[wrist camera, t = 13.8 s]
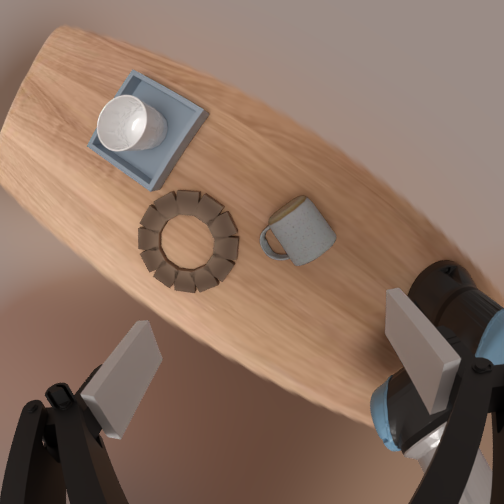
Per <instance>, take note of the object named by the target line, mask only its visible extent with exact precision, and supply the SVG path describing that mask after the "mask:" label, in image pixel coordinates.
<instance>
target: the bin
mask: <svg viewBox="0 0 504 504" xmlns="http://www.w3.org/2000/svg"><path fill="white" fill-rule="evenodd" d="M121 95H132V96H135V97H137V98H138V99H140V100H142V101H143V102H145V103H147V104H149V105H150V106H152V107H153V108H155V109H156V110H157V111H158V112H160V113H162V115H163V116H164V117H165V119H166V120H167V126H168V130H167V134H166V137H165V139H164V140H163V141H162V143H161V144H160V145H159V146H157V147H155V148H153V149H146V150H139V151H112V150H109V149H107V148H106V147H105V146H103V144H102V143H101V142H100V140H99V137H98V134H97V128H96V130H95V132H94V134H93V135H92V137H91V139H90V141H89V143H88V145H87V147H89V148H90V149H92V150H93V151H94V152H96V153H97V154H99V155H100V156H101V157H103V158H104V159H106V160H107V161H108V162H110V163H111V164H113V165H114V166H115V167H117V168H118V169H120V170H121V171H122V172H124V173H125V174H127V175H128V176H129V177H131V178H132V179H134V180H135V181H136V182H138V183H139V184H141V185H142V186H143V187H145V188H146V189H148V190H149V191H150V192H151V191H155V190H160V189H161V187H162V185H163V184H164V182H165V180H166V179H167V177H168V176H169V174H170V172H171V171H172V169H173V168H174V166H175V164H176V163H177V161H178V160H179V158H180V157H181V155H182V154H183V152H184V150H185V149H186V147H187V146H188V144H189V143H190V141H191V140H192V138H193V137H194V136H195V134H196V133H197V131H198V130H199V128H200V127H201V125H202V124H203V123H204V121H205V120H206V118H207V117H208V116H209V113H207V112H206V111H205V110H204V109H202V108H200V107H199V106H197V105H195V104H194V103H192V102H190V101H189V100H187V99H185V98H184V97H182V96H180V95H179V94H177V93H175V92H173V91H172V90H170V89H168V88H166V87H164V86H163V85H161V84H159V83H157V82H155V81H154V80H152V79H150V78H148V77H146V76H144V75H142V74H141V73H139V72H137V71H135V70H132V71H131V73H130V74H129V75H128V77H127V78H126V80H125V81H124V83H123V84H122V86H121V88H120V89H119V91H118V92H117V94H116V95H115V97H114V98H116V97H118V96H121Z"/></svg>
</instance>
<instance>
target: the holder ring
mask: <svg viewBox="0 0 504 504" xmlns="http://www.w3.org/2000/svg"><path fill="white" fill-rule="evenodd" d="M200 195H201V192H200V191H185V190H178V191H177V196H176V194H175V192H174V191H173V192H171V193H169V194H167V195H165V196H163V197H161V198H159V199H158V200H156V201H154V204H155V206H156V207H155V206H154V205H150V206H149V208H148V209H147V211H146V213H145V215H144V216H143V218H142V220H141V222H140V224H141V225H143V226H144V227H140V228H138V249H143V250H146V251H144V252H142V253H141V254H140V255H141V257H142V259H143V261H144V263H145V265H146V267H147V269H148V271H149V272H151V271H154V270H156V269H157V270H156V272H155V274H154V276H153V277H155V278H156V279H157V280H159V281H160V282H162V283H163V284H164V285H166V286H167V287H169V288H170V287H171V286H172V285H173V283H174V282H175V290H176V291H183V292H190V293H195V291H196V287H197V289H198V290H199V292H202V291H205V290H207V289H210V288H212V287H215V286H217V285H218V284H219V281H218V279H219V280H220V281H222V282H223V280H224V279H225V278H226V276H227V275H228V273H229V272H230V271H231V269H232V268H233V267H234V265H235V262H233V261H232V260H237V254H238V242H239V237H237V236H231V235H233V234H235V233H237V232H238V230H237V228H236V226H235V224H234V222H233V220H232V218H231V215H230V213H229V211H227V212H225V213H222V214H220V212H221V211H222V209H223V208H224V206H223V205H222V204H220V203H219V202H218V201H216V200H215V199H213V198H212V197H210V196H209V195H208V194H204V196H203V197H202V199H201V200H200ZM219 214H220V215H219ZM177 215H189V216H195V217H196V218H198V219H199V220H201V221H202V222H203V223H205V224H206V225H207V226H208V228H209V230H210V232H211V234H212V236H213V238H214V249H213V255H212V257H211V258H210V260H209V261H208V263H207V264H205V265H203V266H201V267H198V268H196V269H194V270H193V269H185V268H179V267H178V266H176V265H175V264H174V263H172V262H171V261H169V260H168V259H167V257H166V255H165V253H164V251H163V249H162V247H161V232H162V230H163V228H164V227H165V225H166V223H167V222H168V220H169V219H171V218H173V217H175V216H177Z"/></svg>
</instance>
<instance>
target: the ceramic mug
mask: <svg viewBox="0 0 504 504" xmlns="http://www.w3.org/2000/svg"><path fill="white" fill-rule="evenodd" d="M270 228H271V230H272V232H273V233H274V235H275V236H276V238H277V239H278V240H279V242H280V243H281V245H282V247H283V248H284V250H285V251H286V253H287V254H286V255H280V254H276V253H274V252H273V251H272V250H271V248H270V246H269V245H268V243H267V240H266V239H265V234H266V231H267V230H269V229H270ZM335 241H336V234H335V233H334V232H333V230H332V229H331V227H330V226H329V225H328V223H327V222H326V220H325V219H324V218H323V216H322V215H321V214H320V212H319V211H318V209H317V208H316V207H315V205H314V204H313V202H312V201H310V200H309V199H308V198H307V197H306V196H299V197H297V198H295V199H294V200H292V201H290V202H289V203H287V204H286V205H285V206H283V207H282V208H281V209H279V210H278V211H277V212H276V213H274V214H273V215H272V216H271V217H270V218H269V225H268V226H267V227H266V228H265V229H264V230H263V232H262V233H261V235H260V245H261V248H262V249H263V251H264V252H265V254H266V255H267V256H269V257H270V258H272V259H275V260H287V259H291V261H292V262H293V263H294V265H296V266H301V265H304V264H306V263H309V262H311V261H313V260H314V259H316V258H318V257H319V256H321V255H322V254H323V253H325V252H326V251H327V250H328V249H329V248H330V247H331V246H332V245H333V244H334V242H335Z"/></svg>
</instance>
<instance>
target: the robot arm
mask: <svg viewBox="0 0 504 504" xmlns="http://www.w3.org/2000/svg"><path fill="white" fill-rule="evenodd" d="M385 335H386V336H387V338H388V340H389V341H390V343H391V345H392V346H393V348H394V350H395V352H396V353H397V355H398V357H399V359H400V360H401V362H402V364H403V366H404V367H403V368H402V369H400V370H399V371H398V372H397V373H395V374H394V375H391V376H390V377H389V378H388V379H387V381H386V382H384V383H383V384H382V385H381V386H379V387H378V388H377V389H376V390H375V391H374V392H373V394H372V397H371V401H370V410H371V415H372V419H373V423H374V426H375V428H376V431H377V433H378V435H379V437H380V438H381V439H383V442H384V444H385V446H386V447H387V448H388V449H390V450H391V451H400V450H401V451H402V453H403V455H404V457H408V458H414V459H416V460H418V462H419V464H420V466H421V468H422V470H423V472H424V476H423V478H422V480H421V482H420V484H419V486H418V488H417V489H416V491H415V493H414V495H413V497H412V498H411V500H410V502H409V504H504V308H503V307H501V306H500V305H499V304H498V303H496V302H495V301H493V300H492V299H491V298H489V297H488V296H487V295H485V294H484V293H483V292H481V291H480V290H478V289H477V287H476V285H475V283H474V282H473V280H472V278H471V276H470V274H469V273H468V272H467V270H466V269H465V268H463V267H462V266H460V265H459V264H457V263H455V262H453V261H440V262H437V263H434V264H432V265H431V266H429V267H428V268H426V269H425V270H424V271H423V272H422V273H421V274H420V275H419V276H418V277H417V279H416V280H415V282H414V283H413V285H412V287H411V289H410V292H409V294H408V297H407V296H406V294H405V293H404V292H403V291H402V290H401V289H400V288H394V289H389V290H386V322H385ZM161 361H162V356H161V353H160V351H159V348H158V346H157V343H156V340H155V337H154V334H153V332H152V329H151V326H150V323H149V320H145V321H137V322H136V323H135V324H134V326H133V327H132V328H131V329H130V331H129V332H128V333H127V334H126V336H125V337H124V338H123V339H122V341H121V342H120V343H119V344H118V346H117V347H116V348H115V350H114V351H113V352H112V353H111V355H110V356H109V357H108V358H107V360H106V361H105V362H104V364H101V365H100V366H98V367H97V368H96V369H94V371H93V372H92V373H91V374H90V376H89V377H88V378H87V379H86V382H84V383H83V385H82V386H81V387H80V388H79V390H78V391H77V392H76V394H75V395H73V393H72V391H71V390H70V388H69V386H68V384H66V383H57V384H54V385H53V386H51V387H50V388H48V390H47V391H46V393H45V396H46V398H47V400H48V401H49V403H50V404H51V406H52V407H50V408H45V406H44V405H43V403H42V402H41V401H40V400H33V401H30V402H28V403H27V404H26V405H25V406H24V408H23V410H22V413H21V416H20V419H19V422H18V425H17V428H16V431H15V435H14V438H13V442H12V445H11V450H10V453H9V458H8V461H7V466H6V470H5V475H4V480H3V486H2V491H1V496H0V504H66V489H67V493H68V497H69V501H70V504H129V503H128V501H127V499H126V497H125V495H124V492H123V490H122V488H121V486H120V484H119V481H118V479H117V476H116V474H115V472H114V469H113V466H112V464H111V461H110V459H109V456H108V453H107V451H106V448H105V445H104V442H103V439H102V438H101V436H100V435H99V433H100V431H101V430H102V429H103V431H104V432H105V434H106V435H107V436H108V437H111V438H117V439H121V438H122V436H123V434H124V432H125V430H126V428H127V426H128V424H129V423H130V421H131V419H132V417H133V415H134V413H135V411H136V409H137V407H138V405H139V403H140V401H141V399H142V397H143V396H144V394H145V392H146V390H147V388H148V386H149V384H150V382H151V380H152V378H153V377H154V375H155V373H156V371H157V369H158V367H159V365H160V363H161ZM487 413H491V414H492V429H493V471H492V470H491V469H490V467H489V465H488V463H487V461H486V459H485V458H484V456H483V454H482V452H481V450H480V449H479V445H480V442H481V438H482V434H483V431H484V426H485V422H486V418H487ZM42 440H43V442H44V446H43V442H42Z"/></svg>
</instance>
